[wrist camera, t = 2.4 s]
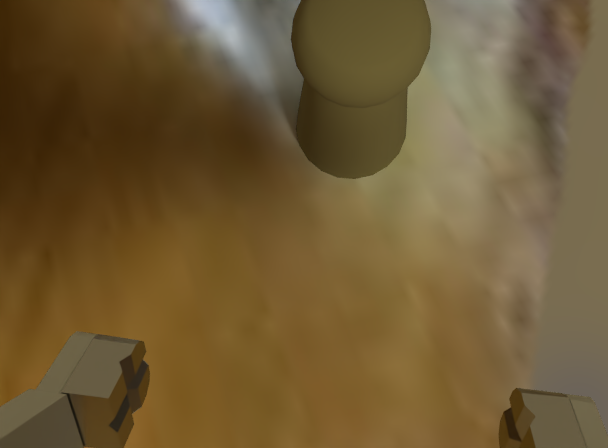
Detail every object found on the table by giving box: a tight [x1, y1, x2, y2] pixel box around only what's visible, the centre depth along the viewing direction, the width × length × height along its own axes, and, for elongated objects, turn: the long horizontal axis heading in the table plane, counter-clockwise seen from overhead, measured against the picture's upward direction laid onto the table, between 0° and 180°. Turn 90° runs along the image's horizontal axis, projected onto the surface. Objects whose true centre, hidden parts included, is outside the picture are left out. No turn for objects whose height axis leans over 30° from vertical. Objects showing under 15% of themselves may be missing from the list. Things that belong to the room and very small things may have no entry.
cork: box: [291, 0, 431, 179], centre depth 24 cm, size 6×6×11 cm
